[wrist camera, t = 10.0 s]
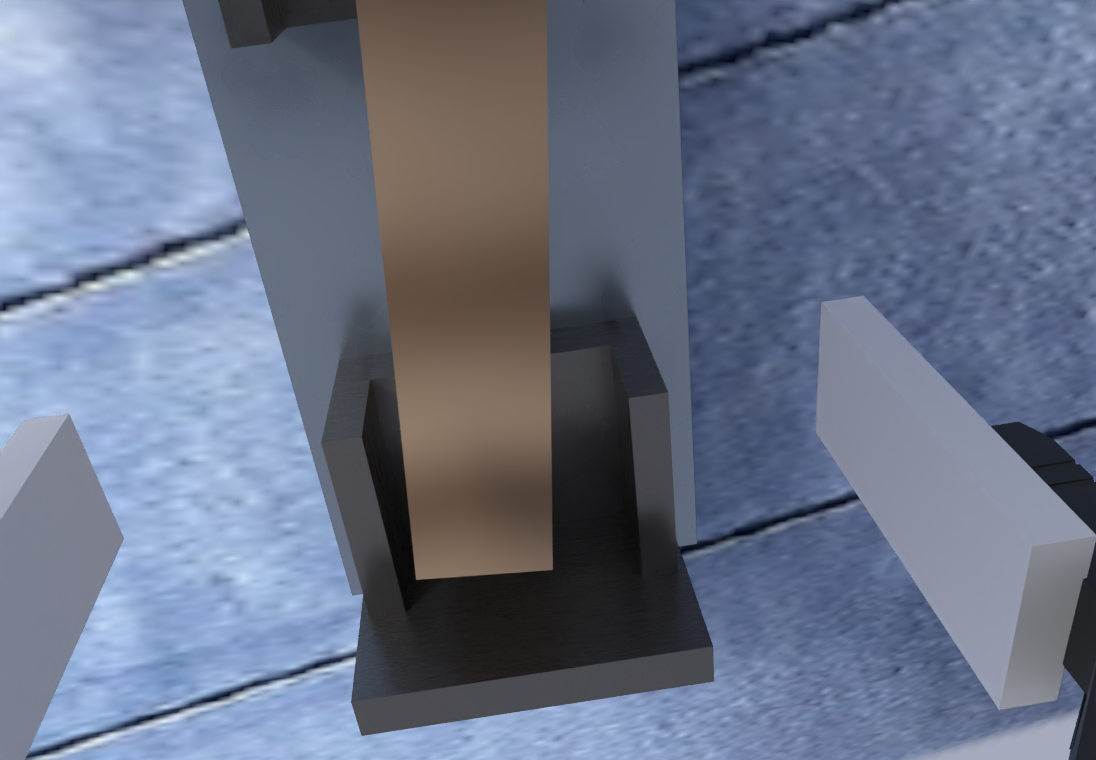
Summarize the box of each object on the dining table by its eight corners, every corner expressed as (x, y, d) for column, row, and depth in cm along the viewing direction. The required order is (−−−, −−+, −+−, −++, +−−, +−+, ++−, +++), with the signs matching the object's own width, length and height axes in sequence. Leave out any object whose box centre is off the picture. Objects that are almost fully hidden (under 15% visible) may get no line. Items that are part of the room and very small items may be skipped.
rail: (365, -127, 23) (343, -124, 18) (523, -129, 24) (545, -127, 19) (421, 464, 32) (416, 579, 27) (535, 456, 33) (552, 570, 27)
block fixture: (73, -432, 22) (-165, -621, 14) (645, -499, 23) (767, -724, 14) (354, 575, 38) (327, 785, 29) (690, 525, 39) (761, 717, 30)
